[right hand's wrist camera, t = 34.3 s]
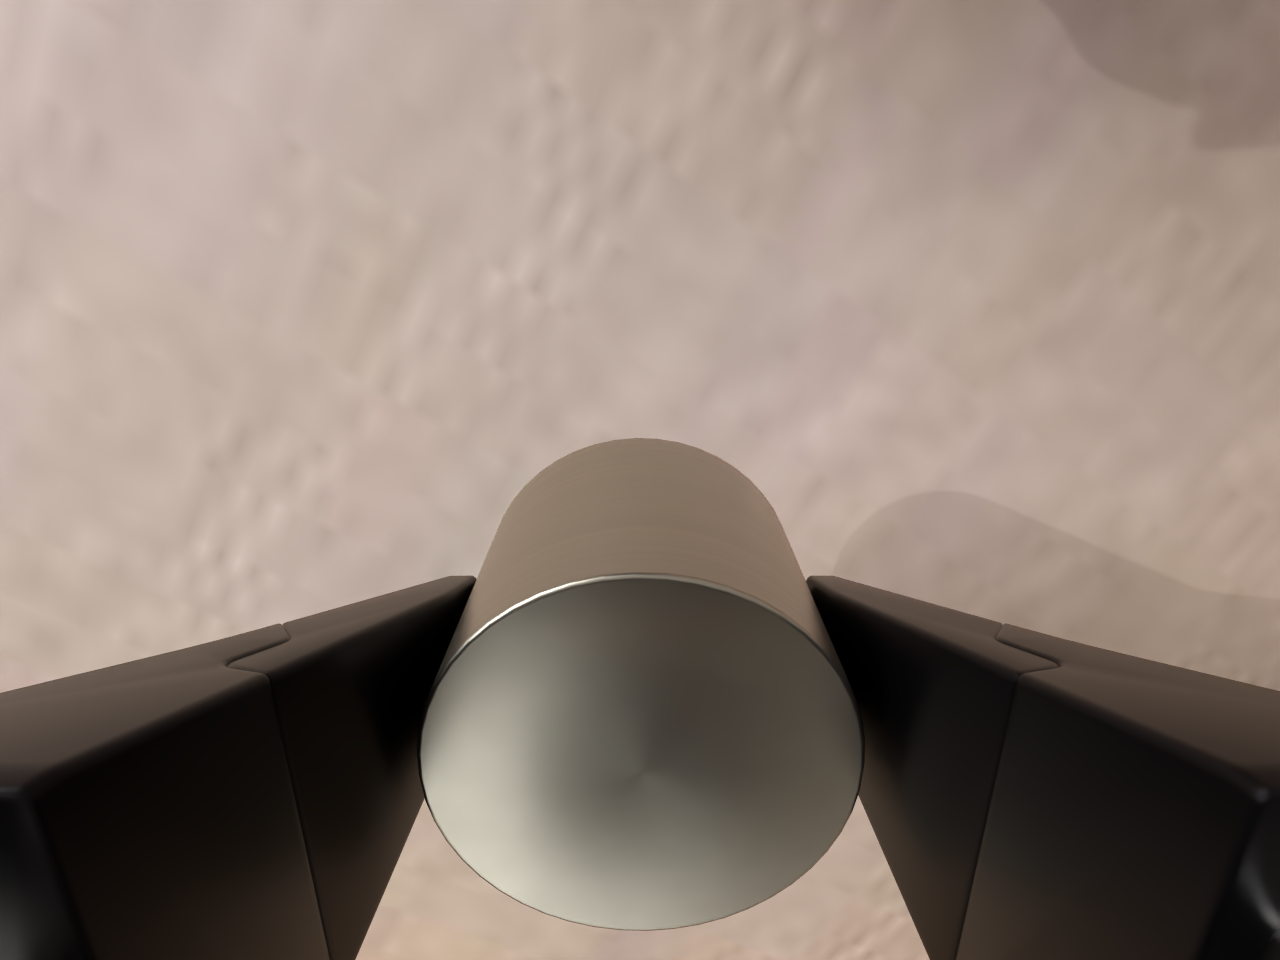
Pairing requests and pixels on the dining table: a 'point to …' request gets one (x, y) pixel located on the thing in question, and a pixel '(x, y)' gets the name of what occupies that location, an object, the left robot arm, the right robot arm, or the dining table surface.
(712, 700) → the tin
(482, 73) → the dining table surface
